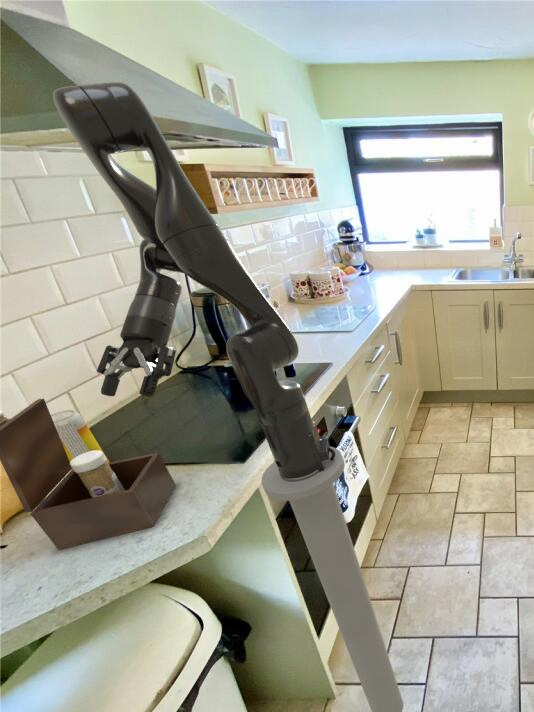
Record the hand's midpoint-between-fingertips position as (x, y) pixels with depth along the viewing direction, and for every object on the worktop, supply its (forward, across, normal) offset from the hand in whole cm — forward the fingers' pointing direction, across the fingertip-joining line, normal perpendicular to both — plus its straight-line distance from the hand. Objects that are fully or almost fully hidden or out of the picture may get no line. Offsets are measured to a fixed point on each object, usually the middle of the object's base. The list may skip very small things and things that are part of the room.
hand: (126, 395), depth 83 cm
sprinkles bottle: (+22, 0, +6) cm, 23 cm away
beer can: (+14, -20, +15) cm, 29 cm away
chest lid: (+13, -5, -7) cm, 15 cm away
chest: (+23, 0, +6) cm, 24 cm away
